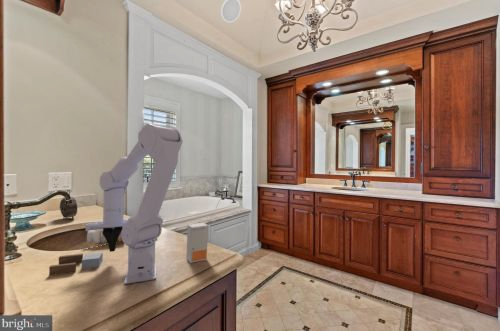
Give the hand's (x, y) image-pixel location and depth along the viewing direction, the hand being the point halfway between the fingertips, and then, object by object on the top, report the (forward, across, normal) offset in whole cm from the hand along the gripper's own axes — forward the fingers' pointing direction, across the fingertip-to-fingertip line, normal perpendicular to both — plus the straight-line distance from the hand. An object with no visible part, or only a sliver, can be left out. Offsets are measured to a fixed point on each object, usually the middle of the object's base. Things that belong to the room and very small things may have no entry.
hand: (112, 250), depth 74 cm
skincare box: (+4, -26, +7) cm, 27 cm away
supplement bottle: (+1, -2, -21) cm, 21 cm away
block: (+4, +5, 0) cm, 7 cm away
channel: (+4, +12, 0) cm, 13 cm away
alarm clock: (+5, +31, -68) cm, 75 cm away
